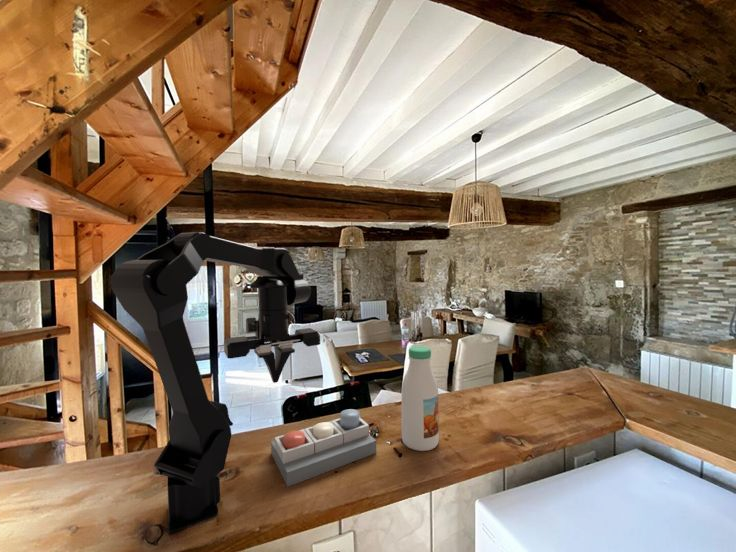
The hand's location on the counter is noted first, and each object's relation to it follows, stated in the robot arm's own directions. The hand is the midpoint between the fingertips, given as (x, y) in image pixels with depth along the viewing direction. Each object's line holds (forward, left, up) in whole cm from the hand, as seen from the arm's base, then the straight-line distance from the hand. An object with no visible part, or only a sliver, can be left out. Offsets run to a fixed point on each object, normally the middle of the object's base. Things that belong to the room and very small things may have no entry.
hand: (275, 382), depth 67 cm
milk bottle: (+26, -16, -13) cm, 33 cm away
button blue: (+13, -9, -9) cm, 18 cm away
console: (+7, -9, -13) cm, 17 cm away
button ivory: (+7, -9, -10) cm, 15 cm away
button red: (+1, -9, -10) cm, 14 cm away
